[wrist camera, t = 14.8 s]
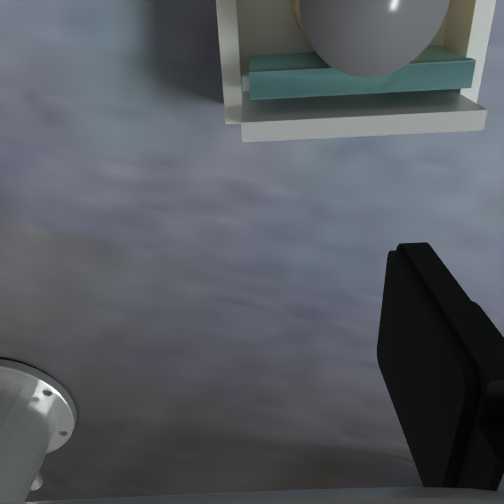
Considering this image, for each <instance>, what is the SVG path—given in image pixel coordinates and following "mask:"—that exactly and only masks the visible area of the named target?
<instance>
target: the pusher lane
mask: <svg viewBox="0 0 504 504" xmlns="http://www.w3.org/2000/svg"><path fill="white" fill-rule="evenodd" d="M495 3H496V0H449V5H448V8H447V11H446V15H445V17H444V20H443V22H442V24H441V26H440V28H439V30H438V32H437V33H436V35H435V37H434V38H433V39H432V41H431V42H430V44H429V45H428V46H433V45H437V46H440V47H442V48H445V49H447V50H450V51H452V52H455V53H457V54H459V55H462V56H464V57H467V58H472V59H474V60H476V64H475V69H474V75H473V80H472V86H471V88H463V89H444V90H425V91H407V92H388V93H369V94H350V95H331V96H312V97H294V98H275V99H256V100H250V85H249V56H253V55H271V54H289V53H307V52H315V50H314V49H313V48H312V46H311V45H310V43H309V42H308V40H307V38H306V36H305V34H304V33H303V32H302V31H301V29H300V28H299V26H298V25H297V23H296V21H295V18H294V16H293V13H292V9H291V4H290V0H216V9H217V22H218V34H219V46H220V59H221V71H222V83H223V96H224V108H225V121H226V124H234V123H241V131H242V142H262V141H282V140H301V139H321V138H341V137H361V136H380V135H400V134H420V133H440V132H459V131H479V130H483V129H484V124H485V119H486V114H487V109H485V108H483V107H482V106H480V105H478V104H477V98H478V92H479V87H480V82H481V77H482V71H483V66H484V61H485V56H486V50H487V45H488V40H489V35H490V29H491V24H492V19H493V14H494V8H495Z"/></svg>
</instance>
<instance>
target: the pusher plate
mask: <svg viewBox="0 0 504 504" xmlns="http://www.w3.org/2000/svg"><path fill="white" fill-rule="evenodd" d="M475 64H476V60H474V59H472V58H467V57H464V56H462V55H459V54H457V53H455V52H452V51H450V50H447V49H445V48H442V47H440V46H437V45H433V46H427V47H426V48H425V49H424V50H423V52H422V53H421V54H419V55H418V56H417V57H416V58H415V59H414V60H412V61H411V62H410V63H408V64H407V65H405V66H403V67H402V68H400V69H398V70H396V71H393V72H391V73H388V74H385V75H381V76H375V77H357V76H351V75H348V74H344V73H342V72H340V71H338V70H336V69H334V68H332V67H331V66H329V65H328V64H327V63H326V62H325V61H323V60H322V59H321V58H320V57H319V55H318V54H317V53H316V52H307V53H289V54H271V55H253V56H249V85H250V100H256V99H275V98H294V97H312V96H331V95H350V94H369V93H388V92H407V91H425V90H444V89H463V88H471V86H472V80H473V75H474V69H475Z"/></svg>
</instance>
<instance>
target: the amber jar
mask: <svg viewBox="0 0 504 504" xmlns="http://www.w3.org/2000/svg"><path fill="white" fill-rule="evenodd" d="M290 4H291V9H292V13H293V16H294V18H295V21H296V23H297V25H298V26H299V28H300V29H301V31H302V32H303V33H304V34H305V36H306V38H307V40H308V42H309V43H310V45H311V46H312V48H313V49H314V50H315V52H316V53H317V54H318V55H319V57H320V58H321V59H322V60H323V61H325V62H326V63H327V64H328V65H329V66H331V67H332V68H334V69H336V70H338V71H340V72H342V73H344V74H348V75H351V76H357V77H375V76H381V75H385V74H388V73H391V72H393V71H396V70H398V69H400V68H402V67H403V66H405V65H407V64H408V63H410V62H411V61H412V60H414V59H415V58H416V57H417V56H418V55H419V54H421V53H422V52H423V50H424V49H425V48H426V47H427V46H428V45H429V44H430V42H431V41H432V39H433V38H434V37H435V35H436V33H437V32H438V30H439V28H440V26H441V24H442V22H443V20H444V17H445V15H446V11H447V8H448V5H449V0H290Z"/></svg>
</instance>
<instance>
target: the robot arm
mask: <svg viewBox="0 0 504 504" xmlns="http://www.w3.org/2000/svg"><path fill="white" fill-rule="evenodd" d="M377 359H378V364H379V367H380V370H381V373H382V375H383V378H384V381H385V383H386V386H387V389H388V392H389V394H390V397H391V400H392V402H393V405H394V408H395V410H396V413H397V416H398V419H399V421H400V424H401V427H402V429H403V432H404V435H405V438H406V440H407V443H408V446H409V448H410V451H411V454H412V456H413V459H414V462H415V465H416V467H417V470H418V473H419V475H420V478H421V481H422V484H423V486H424V487H397V488H356V489H315V490H289V491H265V492H240V493H216V494H192V495H167V496H144V497H122V498H100V499H78V500H57V501H36V502H25V500H26V498H27V495H28V493H29V491H30V490H37V489H38V488H40V487H41V485H42V484H43V479H42V477H41V475H40V473H39V470H40V467H41V465H42V462H43V460H44V458H45V455H46V454H47V453H50V452H52V451H54V450H56V449H58V448H60V447H61V446H62V445H64V444H65V443H66V442H67V440H68V439H69V438H70V437H71V434H72V432H73V429H74V427H75V424H76V419H77V415H76V408H75V405H74V403H73V400H72V399H71V397H70V396H69V394H68V392H67V391H66V390H65V389H64V388H63V387H62V386H61V385H60V384H59V383H58V382H56V381H55V380H54V379H53V378H51V377H50V376H48V375H47V374H45V373H43V372H41V371H40V370H38V369H35V368H33V367H30V366H28V365H25V364H22V363H18V362H14V361H10V360H2V359H0V504H504V337H503V336H502V335H501V333H500V332H499V331H498V329H497V328H496V327H495V326H494V324H493V323H492V322H491V320H490V319H489V318H488V316H487V315H486V314H485V312H484V311H483V310H482V308H481V307H480V306H479V305H478V304H477V303H476V302H473V301H471V300H470V299H469V297H468V296H467V294H466V293H465V292H464V290H463V289H462V288H461V286H460V285H459V284H458V282H457V281H456V280H455V278H454V277H453V276H452V274H451V273H450V272H449V270H448V269H447V268H446V266H445V265H444V264H443V262H442V261H441V259H440V258H439V257H438V255H437V254H436V253H435V251H434V250H433V249H432V247H431V246H430V245H429V244H428V243H426V242H424V243H403V244H399V245H398V246H397V249H396V251H390V252H389V253H388V258H387V266H386V275H385V283H384V292H383V301H382V309H381V318H380V326H379V335H378V344H377Z"/></svg>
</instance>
